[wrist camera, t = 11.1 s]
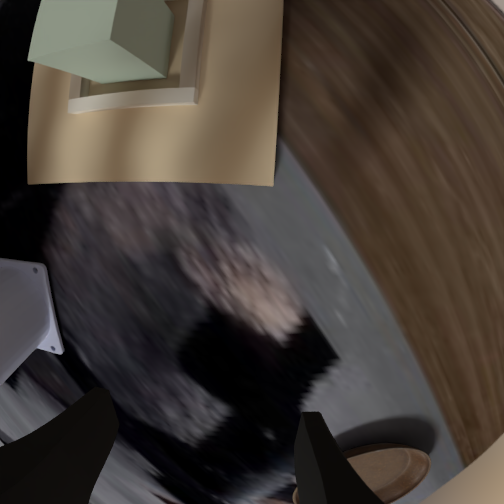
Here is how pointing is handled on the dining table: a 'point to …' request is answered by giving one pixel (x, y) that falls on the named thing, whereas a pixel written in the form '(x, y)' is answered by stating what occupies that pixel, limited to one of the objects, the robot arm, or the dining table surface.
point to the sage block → (104, 38)
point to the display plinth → (170, 107)
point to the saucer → (387, 469)
